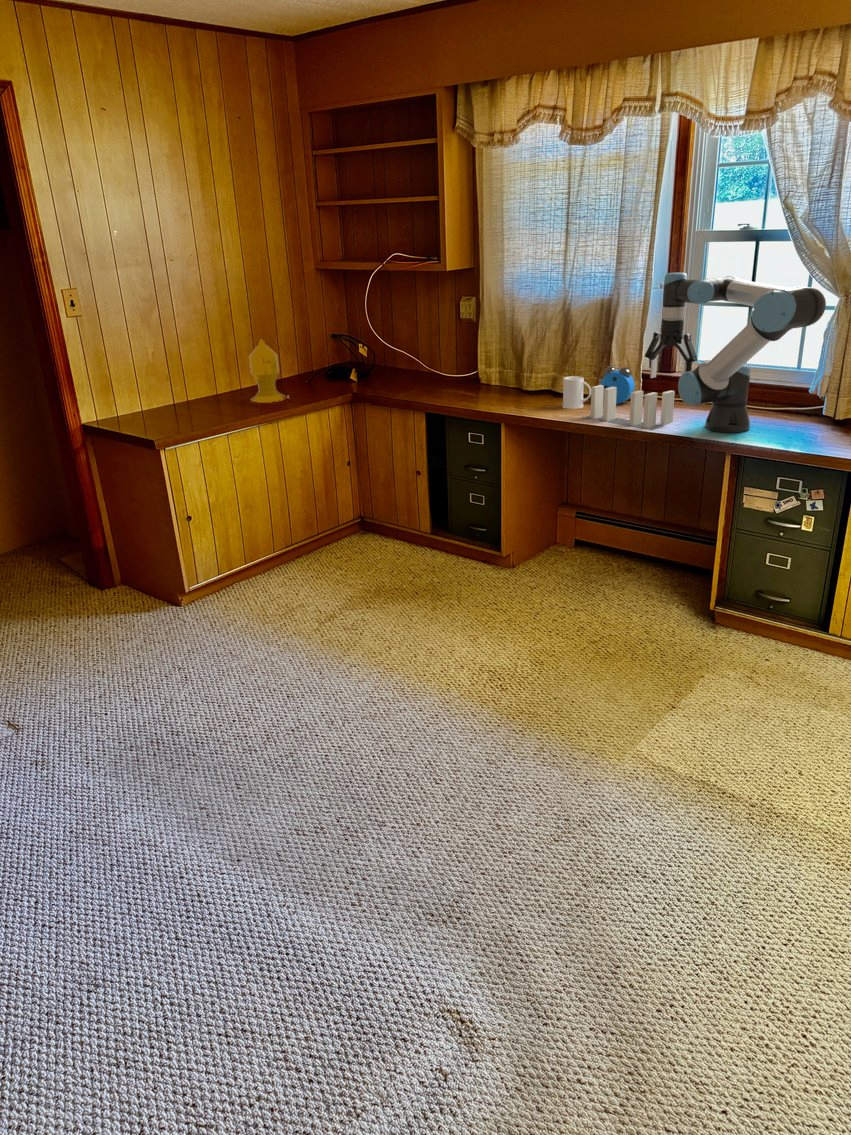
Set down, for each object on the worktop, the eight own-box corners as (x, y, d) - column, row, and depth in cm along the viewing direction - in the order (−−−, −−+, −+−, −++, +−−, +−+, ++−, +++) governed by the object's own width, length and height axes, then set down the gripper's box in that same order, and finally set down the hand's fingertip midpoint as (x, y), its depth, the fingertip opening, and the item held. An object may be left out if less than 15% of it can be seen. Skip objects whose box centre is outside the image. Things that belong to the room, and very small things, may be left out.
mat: (664, 427, 307) (664, 425, 307) (652, 431, 303) (652, 430, 302) (594, 415, 330) (594, 414, 330) (581, 418, 325) (581, 417, 325)
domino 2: (615, 418, 321) (616, 387, 316) (606, 421, 318) (608, 389, 313) (611, 417, 322) (612, 386, 318) (603, 420, 319) (604, 388, 315)
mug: (594, 407, 343) (595, 377, 338) (584, 411, 337) (585, 381, 332) (568, 404, 350) (569, 375, 345) (558, 408, 343) (559, 379, 339)
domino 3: (641, 423, 313) (643, 390, 308) (633, 425, 310) (635, 393, 305) (637, 422, 314) (639, 390, 309) (629, 425, 311) (630, 392, 306)
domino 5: (672, 423, 312) (674, 391, 307) (664, 425, 309) (666, 393, 304) (668, 422, 313) (670, 390, 309) (660, 425, 310) (662, 392, 306)
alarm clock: (634, 403, 346) (636, 366, 340) (628, 406, 341) (630, 369, 335) (604, 400, 353) (606, 364, 347) (598, 403, 348) (599, 367, 343)
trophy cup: (289, 395, 396) (282, 334, 385) (289, 406, 374) (281, 341, 363) (252, 398, 394) (244, 337, 383) (249, 409, 372) (240, 344, 361)
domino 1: (602, 416, 325) (603, 385, 321) (594, 418, 322) (595, 387, 318) (598, 415, 327) (599, 384, 322) (590, 418, 324) (591, 387, 319)
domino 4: (655, 425, 309) (657, 392, 304) (647, 428, 305) (649, 395, 301) (651, 424, 310) (653, 392, 305) (642, 427, 307) (644, 394, 302)
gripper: (710, 319, 290) (705, 381, 298) (649, 316, 307) (646, 374, 316) (698, 321, 285) (694, 384, 294) (636, 318, 303) (634, 377, 311)
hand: (669, 379), depth 305 cm, fingers open, 13 cm apart
